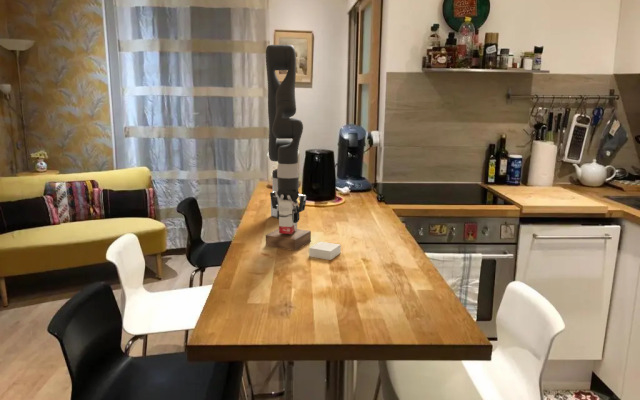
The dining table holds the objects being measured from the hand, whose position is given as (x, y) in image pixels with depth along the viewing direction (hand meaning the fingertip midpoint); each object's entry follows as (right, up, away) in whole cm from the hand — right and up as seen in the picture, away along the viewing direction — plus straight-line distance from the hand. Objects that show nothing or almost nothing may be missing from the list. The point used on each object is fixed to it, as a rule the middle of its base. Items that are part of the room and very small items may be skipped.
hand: (288, 221), depth 186 cm
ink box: (0, -4, +1) cm, 4 cm away
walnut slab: (0, -8, +2) cm, 8 cm away
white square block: (+13, -11, -10) cm, 20 cm away
